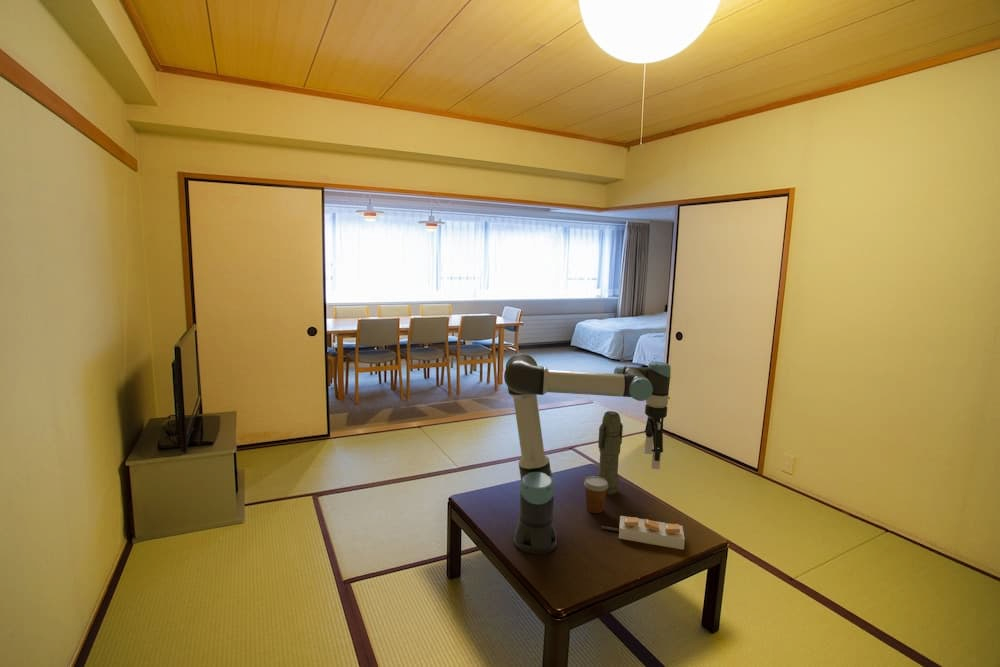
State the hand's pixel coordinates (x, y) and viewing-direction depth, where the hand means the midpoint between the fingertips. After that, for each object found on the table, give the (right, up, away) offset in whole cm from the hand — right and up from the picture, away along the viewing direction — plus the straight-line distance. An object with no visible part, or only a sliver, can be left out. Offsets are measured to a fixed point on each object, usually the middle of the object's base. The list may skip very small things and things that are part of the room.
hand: (651, 460), depth 173 cm
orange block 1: (-8, -21, -2) cm, 23 cm away
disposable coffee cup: (-18, -24, +17) cm, 34 cm away
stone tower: (-9, -22, +34) cm, 41 cm away
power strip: (-4, -27, -1) cm, 27 cm away
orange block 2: (-1, -22, -4) cm, 22 cm away
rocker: (+5, -22, -6) cm, 24 cm away
